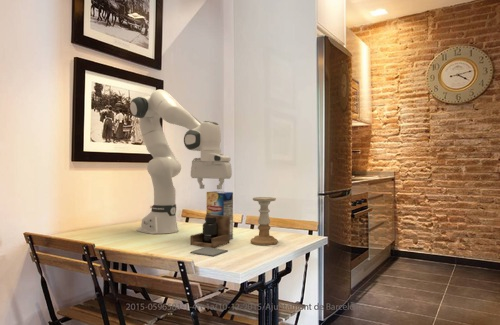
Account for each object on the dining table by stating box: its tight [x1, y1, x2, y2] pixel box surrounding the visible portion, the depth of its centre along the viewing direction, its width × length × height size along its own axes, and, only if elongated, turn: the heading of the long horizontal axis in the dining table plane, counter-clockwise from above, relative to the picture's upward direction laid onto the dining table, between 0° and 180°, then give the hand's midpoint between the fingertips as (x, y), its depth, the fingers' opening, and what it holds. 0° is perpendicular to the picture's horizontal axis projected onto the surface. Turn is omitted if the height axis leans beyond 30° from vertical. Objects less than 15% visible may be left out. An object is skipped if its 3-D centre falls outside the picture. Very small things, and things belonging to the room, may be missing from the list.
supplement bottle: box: [202, 216, 218, 244], centre depth 160 cm, size 7×7×12 cm
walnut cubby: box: [189, 214, 231, 248], centre depth 160 cm, size 12×12×12 cm
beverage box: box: [205, 190, 234, 240], centre depth 173 cm, size 7×11×22 cm, turn 52°
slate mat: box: [190, 247, 228, 257], centre depth 144 cm, size 11×10×1 cm
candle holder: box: [250, 196, 279, 246], centre depth 164 cm, size 12×12×20 cm
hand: (210, 188), depth 160 cm, fingers open, 8 cm apart
